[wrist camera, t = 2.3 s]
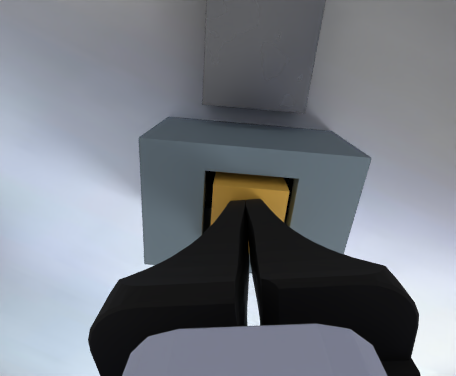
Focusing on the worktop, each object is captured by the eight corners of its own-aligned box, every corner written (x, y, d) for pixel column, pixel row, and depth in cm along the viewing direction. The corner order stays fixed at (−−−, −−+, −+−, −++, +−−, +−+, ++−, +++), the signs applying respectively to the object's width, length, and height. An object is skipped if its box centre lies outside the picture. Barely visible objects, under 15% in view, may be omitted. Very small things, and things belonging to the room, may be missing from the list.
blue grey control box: (331, 131, 15) (371, 158, 11) (310, 225, 18) (335, 280, 13) (161, 116, 15) (128, 137, 11) (162, 212, 18) (136, 263, 13)
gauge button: (277, 163, 14) (289, 191, 11) (269, 215, 15) (277, 254, 12) (218, 158, 14) (213, 185, 11) (215, 211, 15) (209, 248, 12)
